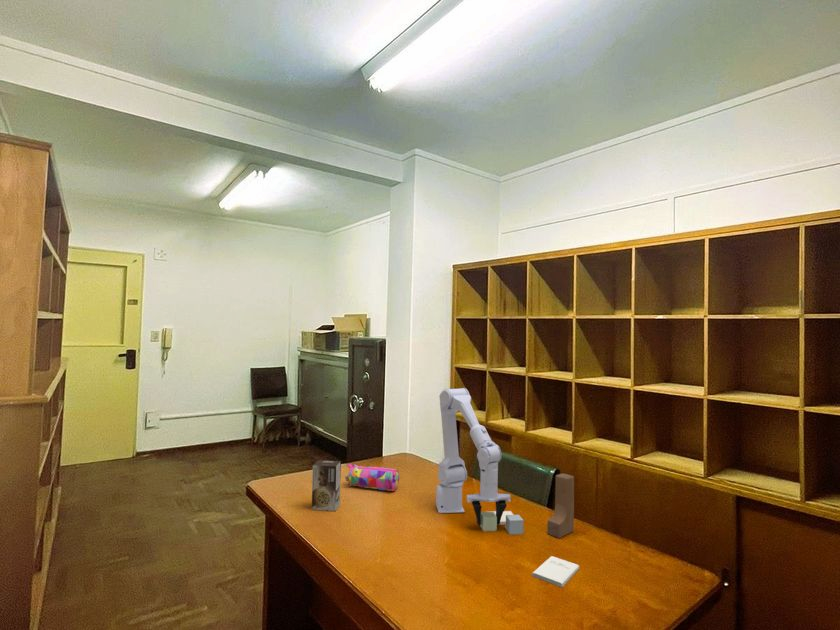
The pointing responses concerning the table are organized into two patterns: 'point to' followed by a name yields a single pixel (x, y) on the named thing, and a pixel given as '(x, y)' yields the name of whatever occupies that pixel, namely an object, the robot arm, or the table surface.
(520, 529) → the slate cube
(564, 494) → the wooden block
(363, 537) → the table surface
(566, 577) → the external hard drive
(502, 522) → the base tile
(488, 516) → the sage cube
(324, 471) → the coffee box
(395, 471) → the pencil case
